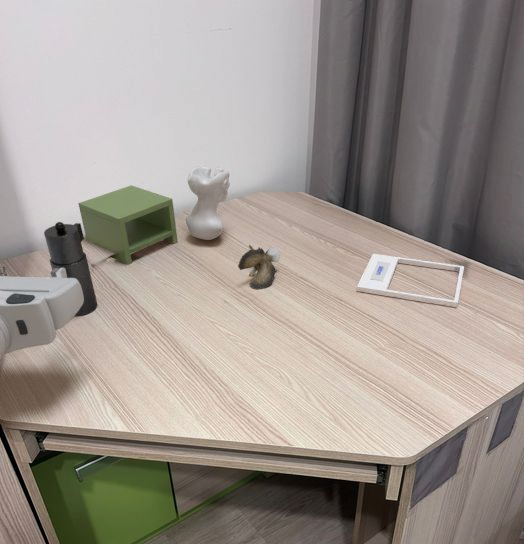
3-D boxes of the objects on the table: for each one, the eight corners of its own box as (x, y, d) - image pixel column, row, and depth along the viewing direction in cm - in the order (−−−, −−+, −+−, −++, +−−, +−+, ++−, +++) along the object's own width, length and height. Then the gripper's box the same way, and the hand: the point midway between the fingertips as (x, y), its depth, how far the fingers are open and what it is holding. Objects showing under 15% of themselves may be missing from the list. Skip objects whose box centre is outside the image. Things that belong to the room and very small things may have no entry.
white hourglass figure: (180, 240, 121) (172, 173, 112) (212, 223, 128) (207, 159, 119) (212, 250, 116) (206, 181, 107) (244, 232, 123) (241, 167, 115)
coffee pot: (90, 316, 96) (69, 230, 86) (58, 315, 96) (33, 229, 86) (108, 290, 103) (90, 207, 94) (78, 289, 104) (57, 207, 94)
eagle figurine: (238, 260, 109) (228, 273, 101) (257, 232, 106) (249, 243, 98) (269, 282, 110) (262, 296, 102) (288, 254, 107) (283, 267, 99)
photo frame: (373, 252, 111) (464, 265, 105) (372, 257, 112) (463, 270, 106) (357, 285, 100) (458, 301, 94) (356, 290, 101) (456, 307, 95)
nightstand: (88, 246, 119) (78, 203, 113) (138, 226, 128) (131, 185, 122) (127, 264, 112) (118, 219, 106) (177, 242, 120) (172, 198, 114)
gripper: (-83, 338, 72) (-27, 288, 83) (63, 344, 70) (100, 291, 81) (-103, 297, 68) (-42, 250, 79) (51, 302, 66) (91, 253, 77)
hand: (31, 271), depth 80 cm, fingers open, 8 cm apart
